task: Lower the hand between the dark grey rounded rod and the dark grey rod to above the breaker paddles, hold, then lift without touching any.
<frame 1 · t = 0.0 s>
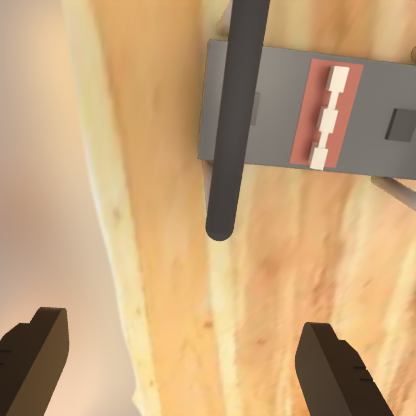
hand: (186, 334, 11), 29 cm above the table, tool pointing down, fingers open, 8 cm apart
breaker paddles: (326, 119, 31), point 7 cm above the table, hinge at 15.0°
dark grey rounded rod: (233, 127, 21), point 17 cm above the table, slide at 0.0 cm
pdu: (308, 110, 37), on the table
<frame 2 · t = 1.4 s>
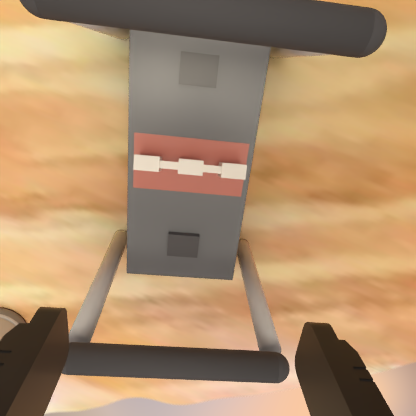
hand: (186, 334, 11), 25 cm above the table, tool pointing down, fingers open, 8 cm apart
travel mug: (3, 325, 42), on the table
breaker paddles: (190, 166, 28), point 7 cm above the table, hinge at 15.0°
pdu: (190, 152, 34), on the table
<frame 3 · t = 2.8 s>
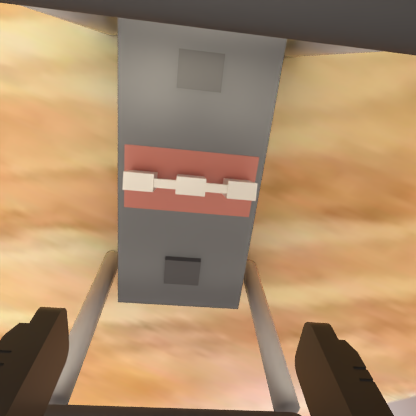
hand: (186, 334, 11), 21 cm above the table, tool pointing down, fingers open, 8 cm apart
breaker paddles: (190, 184, 24), point 7 cm above the table, hinge at 15.0°
pdu: (190, 164, 30), on the table
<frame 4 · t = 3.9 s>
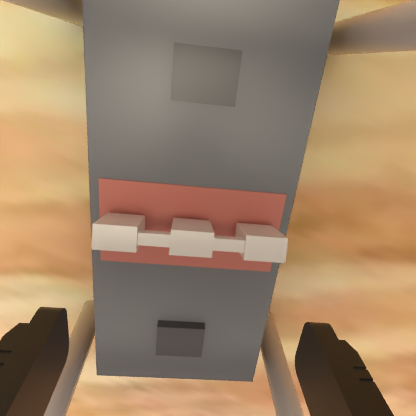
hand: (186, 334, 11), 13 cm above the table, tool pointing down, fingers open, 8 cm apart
breaker paddles: (191, 236, 17), point 7 cm above the table, hinge at 15.0°
pdu: (191, 195, 23), on the table
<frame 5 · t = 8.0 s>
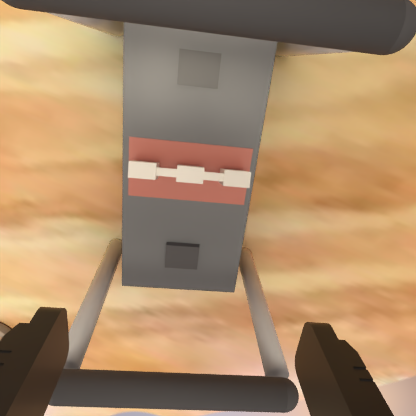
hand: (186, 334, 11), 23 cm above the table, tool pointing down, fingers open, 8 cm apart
breaker paddles: (189, 173, 26), point 7 cm above the table, hinge at 15.0°
pdu: (189, 156, 32), on the table
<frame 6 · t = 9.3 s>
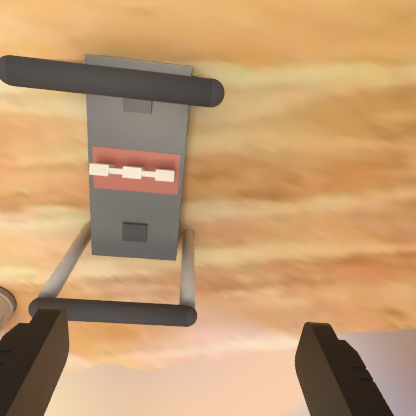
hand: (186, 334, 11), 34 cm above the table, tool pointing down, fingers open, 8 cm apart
breaker paddles: (134, 172, 37), point 7 cm above the table, hinge at 15.0°
dark grey rounded rod: (114, 82, 24), point 17 cm above the table, slide at 0.0 cm
pdu: (142, 159, 43), on the table
dark grey rod: (115, 312, 32), point 17 cm above the table, slide at 0.0 cm
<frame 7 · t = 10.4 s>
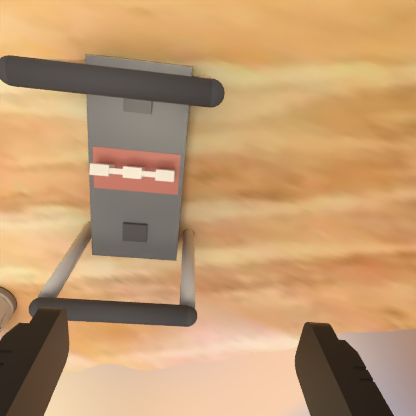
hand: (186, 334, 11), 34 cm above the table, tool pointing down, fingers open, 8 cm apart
breaker paddles: (134, 172, 37), point 7 cm above the table, hinge at 15.0°
dark grey rounded rod: (114, 82, 24), point 17 cm above the table, slide at 0.0 cm
pdu: (142, 160, 43), on the table
dark grey rod: (115, 312, 32), point 17 cm above the table, slide at 0.0 cm
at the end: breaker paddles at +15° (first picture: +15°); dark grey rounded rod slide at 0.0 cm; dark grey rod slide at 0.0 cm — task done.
